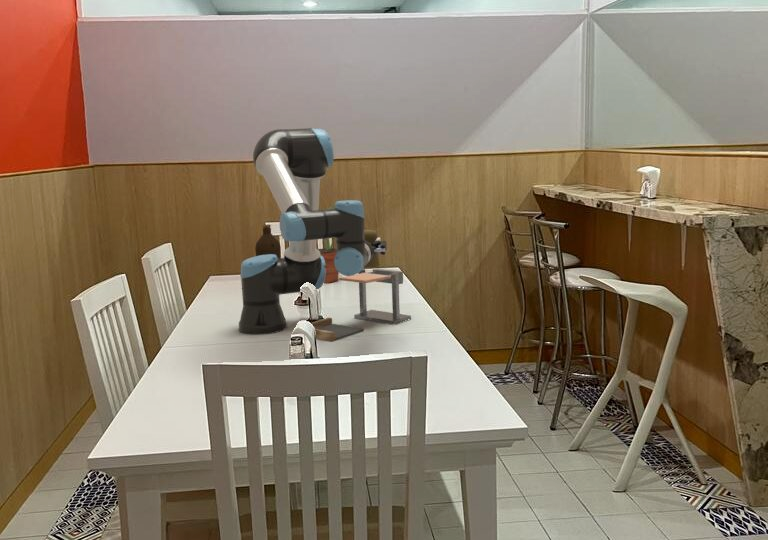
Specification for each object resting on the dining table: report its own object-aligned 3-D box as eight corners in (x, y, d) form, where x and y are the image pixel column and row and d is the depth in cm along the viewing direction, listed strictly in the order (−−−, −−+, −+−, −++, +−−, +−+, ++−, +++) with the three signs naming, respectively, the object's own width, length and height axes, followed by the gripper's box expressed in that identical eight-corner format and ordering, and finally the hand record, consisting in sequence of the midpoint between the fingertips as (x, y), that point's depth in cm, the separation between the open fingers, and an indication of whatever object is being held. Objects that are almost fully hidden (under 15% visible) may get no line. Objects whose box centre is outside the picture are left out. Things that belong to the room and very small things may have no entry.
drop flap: (376, 280, 253) (376, 268, 252) (403, 283, 246) (403, 271, 245) (338, 288, 238) (338, 275, 237) (366, 291, 231) (366, 278, 230)
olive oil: (287, 281, 320) (284, 223, 316) (272, 286, 311) (269, 226, 307) (267, 280, 325) (264, 223, 321) (252, 284, 316) (248, 226, 312)
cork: (356, 267, 225) (354, 230, 223) (365, 263, 230) (364, 228, 228) (373, 268, 222) (372, 231, 220) (383, 264, 227) (382, 229, 225)
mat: (305, 334, 231) (305, 332, 231) (333, 325, 241) (333, 323, 241) (336, 340, 223) (336, 338, 223) (364, 330, 233) (364, 328, 233)
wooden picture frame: (297, 334, 231) (296, 326, 230) (328, 324, 242) (328, 317, 241) (332, 341, 221) (331, 333, 221) (363, 330, 233) (363, 323, 232)
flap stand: (371, 313, 256) (369, 266, 254) (411, 319, 246) (409, 270, 243) (354, 318, 250) (352, 270, 247) (394, 324, 239) (392, 274, 236)
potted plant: (351, 279, 321) (348, 198, 315) (330, 285, 309) (326, 201, 303) (322, 276, 330) (318, 197, 324) (301, 282, 317) (296, 200, 311)
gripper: (328, 267, 209) (345, 254, 232) (388, 267, 207) (399, 253, 229) (327, 240, 208) (344, 230, 231) (388, 240, 205) (399, 229, 228)
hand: (371, 242), depth 230 cm, fingers closed on cork, 4 cm apart
